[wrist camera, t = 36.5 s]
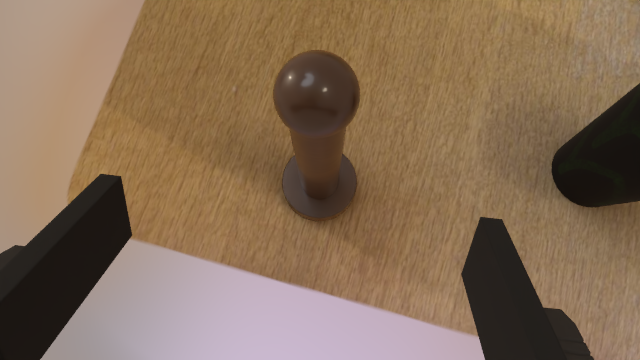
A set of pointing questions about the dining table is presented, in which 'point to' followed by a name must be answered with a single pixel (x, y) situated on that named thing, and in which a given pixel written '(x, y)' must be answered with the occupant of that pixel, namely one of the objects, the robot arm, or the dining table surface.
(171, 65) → the dining table surface
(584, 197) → the cup
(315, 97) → the brown pepper mill
